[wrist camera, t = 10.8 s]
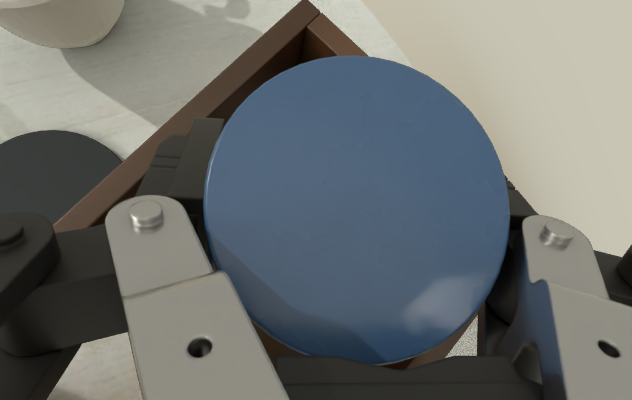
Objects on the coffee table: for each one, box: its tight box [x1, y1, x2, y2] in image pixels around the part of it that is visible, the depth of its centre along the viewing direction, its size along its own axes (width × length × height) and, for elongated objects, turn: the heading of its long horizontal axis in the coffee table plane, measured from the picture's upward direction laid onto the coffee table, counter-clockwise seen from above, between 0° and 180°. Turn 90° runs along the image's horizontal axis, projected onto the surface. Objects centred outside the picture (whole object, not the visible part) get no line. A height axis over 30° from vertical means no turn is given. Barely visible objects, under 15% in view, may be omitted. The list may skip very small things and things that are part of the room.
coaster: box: [0, 130, 122, 225], centre depth 30 cm, size 12×12×1 cm
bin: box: [53, 0, 539, 370], centre depth 23 cm, size 14×14×19 cm
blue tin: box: [203, 55, 510, 366], centre depth 13 cm, size 6×6×11 cm
